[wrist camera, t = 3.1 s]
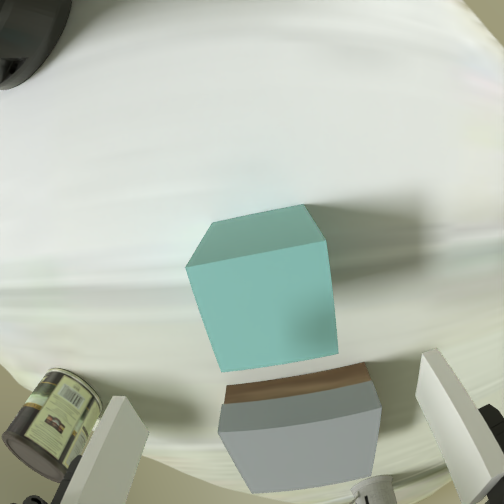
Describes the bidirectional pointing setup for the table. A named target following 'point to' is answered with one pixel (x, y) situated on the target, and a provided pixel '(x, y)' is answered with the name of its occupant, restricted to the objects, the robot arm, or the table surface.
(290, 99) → the table surface
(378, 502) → the grey black mug
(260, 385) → the walnut slab
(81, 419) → the coffee can
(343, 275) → the table surface
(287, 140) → the table surface
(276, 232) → the teal block
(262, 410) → the grey slab
